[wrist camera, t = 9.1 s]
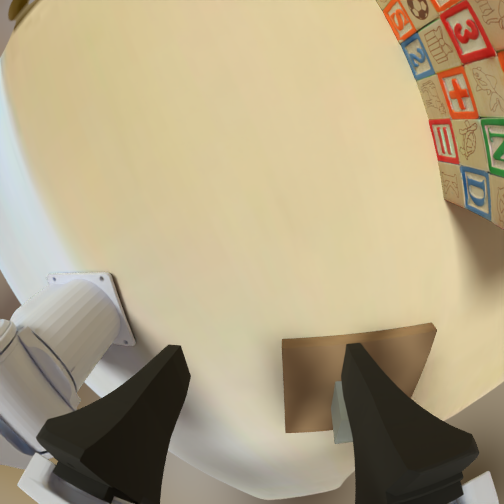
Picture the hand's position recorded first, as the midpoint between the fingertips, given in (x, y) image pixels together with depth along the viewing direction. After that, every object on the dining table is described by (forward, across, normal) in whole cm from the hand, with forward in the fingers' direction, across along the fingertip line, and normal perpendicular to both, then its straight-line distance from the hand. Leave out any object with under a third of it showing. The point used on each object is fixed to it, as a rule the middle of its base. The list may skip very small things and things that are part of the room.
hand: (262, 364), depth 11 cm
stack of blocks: (+10, -14, -16) cm, 23 cm away
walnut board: (+9, -8, +13) cm, 18 cm away
